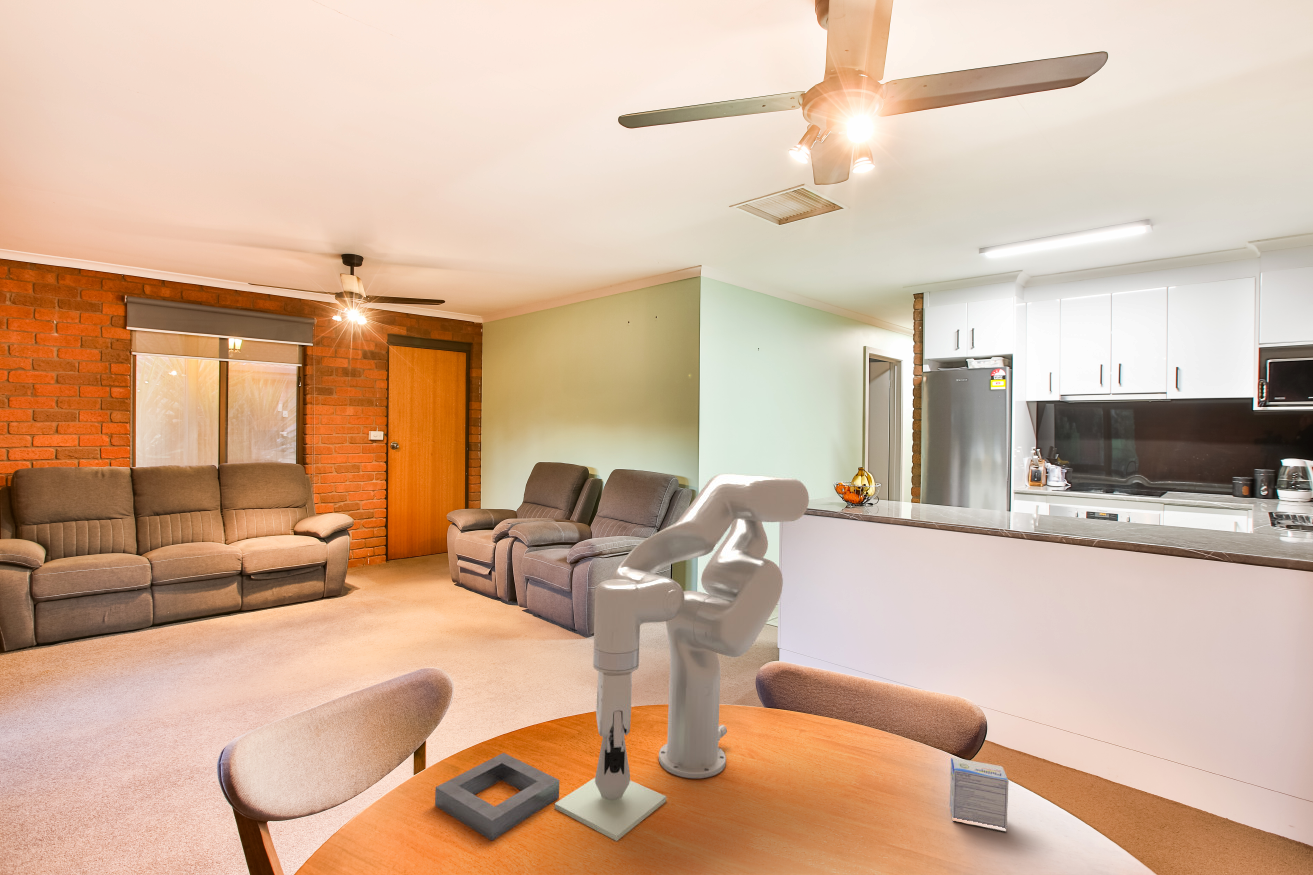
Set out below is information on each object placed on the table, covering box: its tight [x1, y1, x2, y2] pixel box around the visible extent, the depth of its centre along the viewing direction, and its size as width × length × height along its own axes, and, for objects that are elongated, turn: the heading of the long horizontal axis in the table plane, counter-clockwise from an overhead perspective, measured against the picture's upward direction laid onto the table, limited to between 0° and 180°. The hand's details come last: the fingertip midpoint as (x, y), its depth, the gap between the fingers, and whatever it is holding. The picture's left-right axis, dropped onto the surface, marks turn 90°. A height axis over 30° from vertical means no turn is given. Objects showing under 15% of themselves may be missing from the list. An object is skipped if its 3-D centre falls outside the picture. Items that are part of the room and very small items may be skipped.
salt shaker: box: [594, 729, 631, 800], centre depth 102 cm, size 6×6×13 cm
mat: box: [554, 777, 667, 842], centre depth 102 cm, size 13×13×1 cm
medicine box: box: [949, 757, 1010, 830], centre depth 101 cm, size 8×4×9 cm, turn 71°
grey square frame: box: [434, 752, 560, 841], centre depth 102 cm, size 14×14×3 cm
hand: (613, 767), depth 102 cm, fingers closed on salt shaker, 3 cm apart
